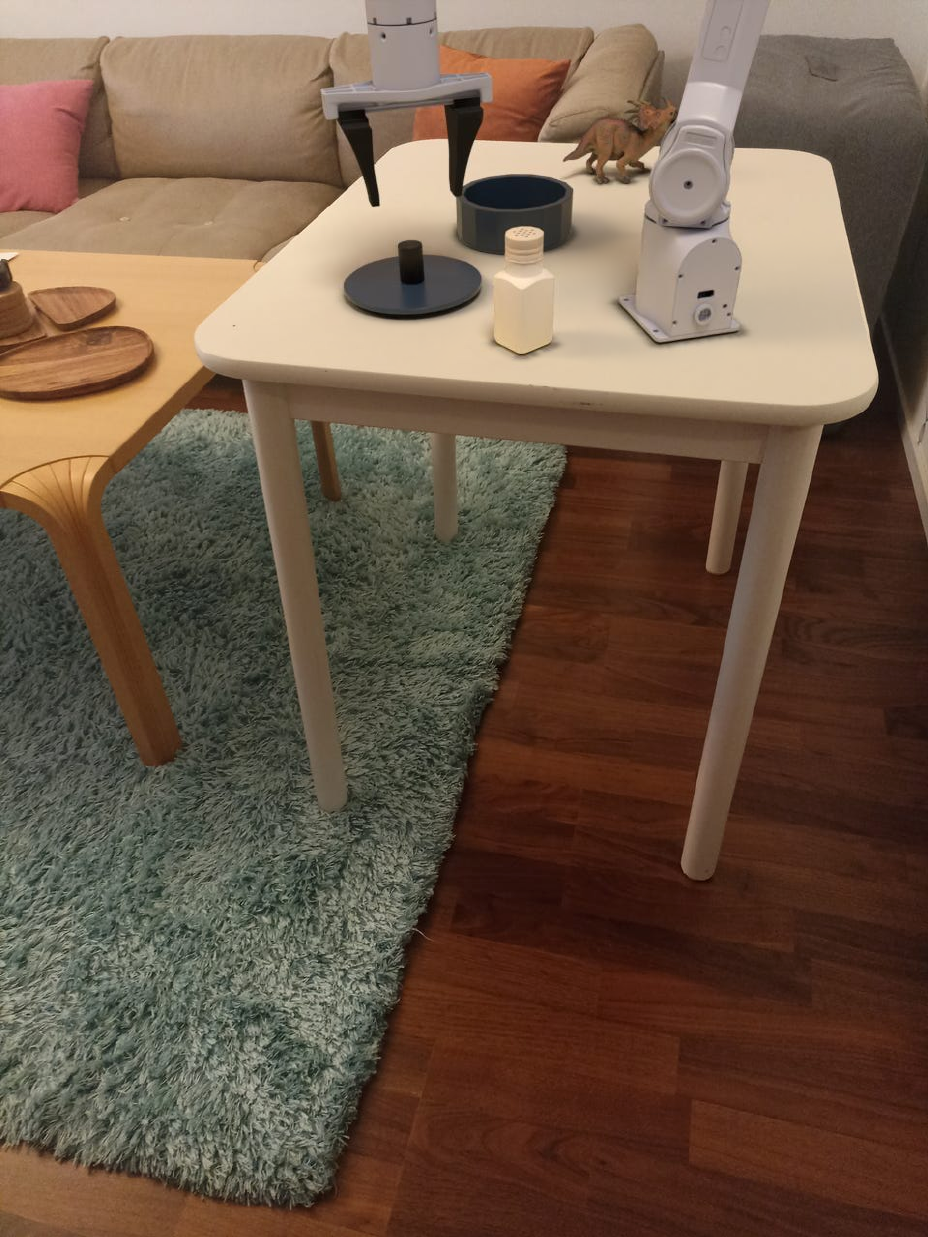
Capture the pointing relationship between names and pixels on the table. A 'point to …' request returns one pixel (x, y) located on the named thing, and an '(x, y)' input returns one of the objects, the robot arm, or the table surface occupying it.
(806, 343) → the table surface
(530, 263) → the salt shaker
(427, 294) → the lid
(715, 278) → the robot arm
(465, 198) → the pot
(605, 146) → the dinosaur figurine
